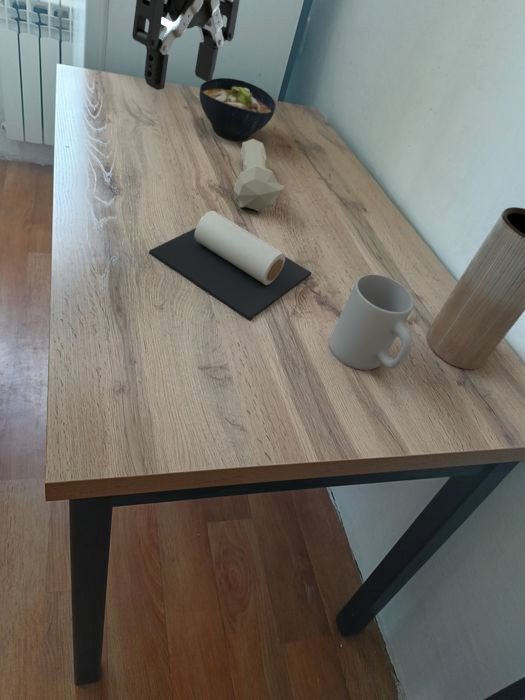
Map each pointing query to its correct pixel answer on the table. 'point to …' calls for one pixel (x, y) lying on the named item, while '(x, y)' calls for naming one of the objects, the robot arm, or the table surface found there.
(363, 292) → the mug
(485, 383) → the table surface
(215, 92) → the bowl
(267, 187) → the faceted club
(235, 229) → the towel roll
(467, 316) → the planter
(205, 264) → the mat
